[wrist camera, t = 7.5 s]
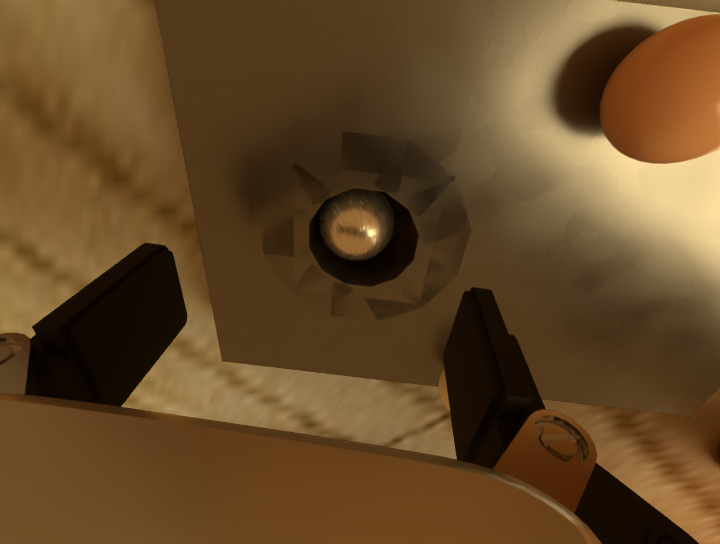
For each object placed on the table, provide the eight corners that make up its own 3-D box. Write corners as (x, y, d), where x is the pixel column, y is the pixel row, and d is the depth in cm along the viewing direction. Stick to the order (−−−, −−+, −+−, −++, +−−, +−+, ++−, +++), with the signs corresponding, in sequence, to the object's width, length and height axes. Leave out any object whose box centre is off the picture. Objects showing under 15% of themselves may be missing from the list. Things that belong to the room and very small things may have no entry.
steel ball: (416, 193, 15) (348, 208, 13) (403, 263, 16) (342, 284, 15) (368, 168, 17) (304, 177, 15) (362, 232, 19) (304, 246, 17)
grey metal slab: (912, 51, 12) (1073, 53, 9) (648, 367, 22) (688, 416, 19) (201, -31, 12) (144, -54, 10) (244, 319, 22) (222, 361, 19)
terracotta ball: (734, 26, 10) (884, 17, 7) (662, 152, 12) (754, 188, 9) (611, 12, 10) (707, -3, 7) (559, 140, 12) (616, 172, 9)
